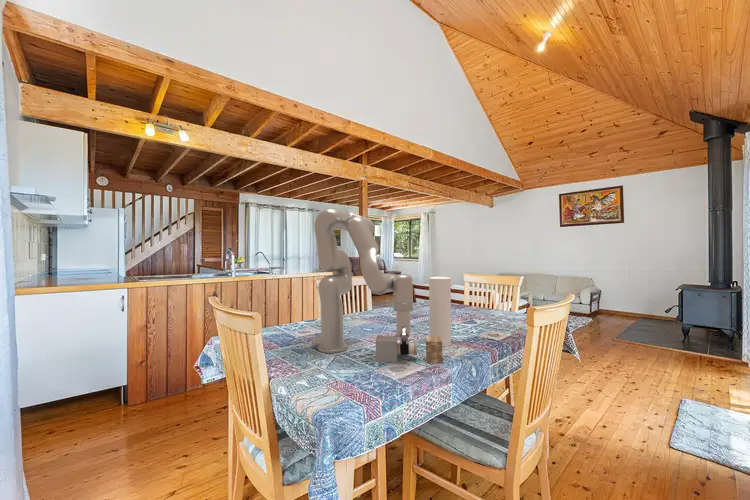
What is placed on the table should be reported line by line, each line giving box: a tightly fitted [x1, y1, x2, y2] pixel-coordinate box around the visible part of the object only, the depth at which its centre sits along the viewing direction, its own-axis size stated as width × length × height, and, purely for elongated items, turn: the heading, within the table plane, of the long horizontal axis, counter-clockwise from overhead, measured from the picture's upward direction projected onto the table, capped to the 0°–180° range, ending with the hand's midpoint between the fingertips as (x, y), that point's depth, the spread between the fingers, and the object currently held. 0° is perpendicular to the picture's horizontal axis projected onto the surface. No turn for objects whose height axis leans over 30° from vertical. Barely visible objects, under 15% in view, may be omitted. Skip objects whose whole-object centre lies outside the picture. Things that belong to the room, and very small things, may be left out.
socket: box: [425, 335, 443, 364], centre depth 125 cm, size 6×7×8 cm
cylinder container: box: [428, 275, 452, 348], centre depth 146 cm, size 9×9×30 cm
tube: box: [397, 342, 418, 356], centre depth 126 cm, size 15×5×5 cm, turn 85°
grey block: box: [375, 335, 398, 363], centre depth 127 cm, size 8×7×8 cm
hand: (404, 350), depth 126 cm, fingers open, 9 cm apart
